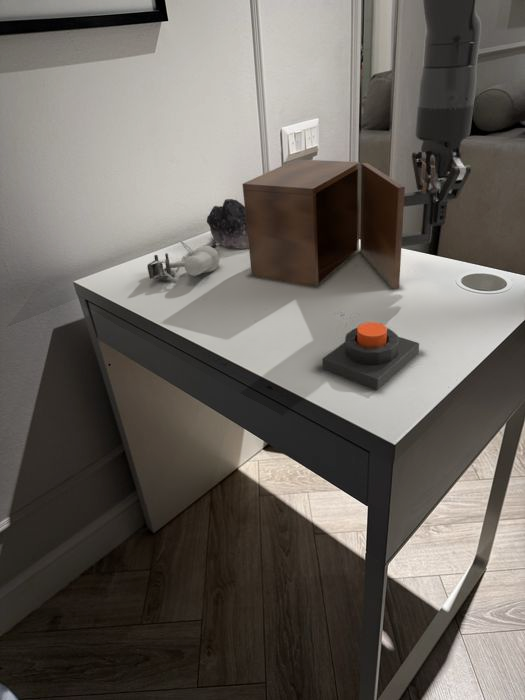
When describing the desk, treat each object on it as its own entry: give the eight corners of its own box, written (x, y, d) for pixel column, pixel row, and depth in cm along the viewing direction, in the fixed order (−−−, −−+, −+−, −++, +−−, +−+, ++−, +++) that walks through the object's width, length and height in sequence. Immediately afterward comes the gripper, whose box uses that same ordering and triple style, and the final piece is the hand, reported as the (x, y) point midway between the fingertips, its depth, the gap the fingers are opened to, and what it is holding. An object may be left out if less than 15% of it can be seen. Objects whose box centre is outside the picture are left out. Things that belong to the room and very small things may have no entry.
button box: (365, 339, 72) (366, 314, 70) (418, 357, 68) (420, 330, 65) (322, 373, 66) (322, 346, 64) (377, 394, 62) (378, 366, 59)
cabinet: (358, 253, 100) (360, 161, 91) (316, 290, 87) (312, 188, 79) (299, 245, 106) (295, 159, 98) (252, 279, 94) (242, 183, 85)
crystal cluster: (272, 230, 118) (265, 185, 114) (276, 245, 106) (268, 196, 102) (214, 240, 119) (205, 196, 114) (212, 257, 107) (201, 208, 102)
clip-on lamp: (179, 269, 109) (145, 287, 92) (173, 238, 107) (137, 251, 90) (233, 263, 106) (208, 280, 89) (228, 231, 104) (201, 243, 88)
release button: (367, 331, 67) (367, 319, 66) (391, 339, 65) (392, 327, 64) (351, 343, 65) (351, 331, 64) (376, 351, 63) (376, 339, 62)
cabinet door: (394, 248, 100) (398, 158, 91) (433, 286, 85) (443, 182, 76) (360, 253, 99) (361, 163, 91) (393, 291, 84) (398, 187, 75)
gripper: (499, 104, 68) (479, 232, 77) (444, 95, 79) (433, 207, 88) (446, 110, 66) (433, 240, 75) (398, 100, 78) (392, 213, 87)
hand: (433, 222), depth 82 cm, fingers closed on cabinet door, 2 cm apart
